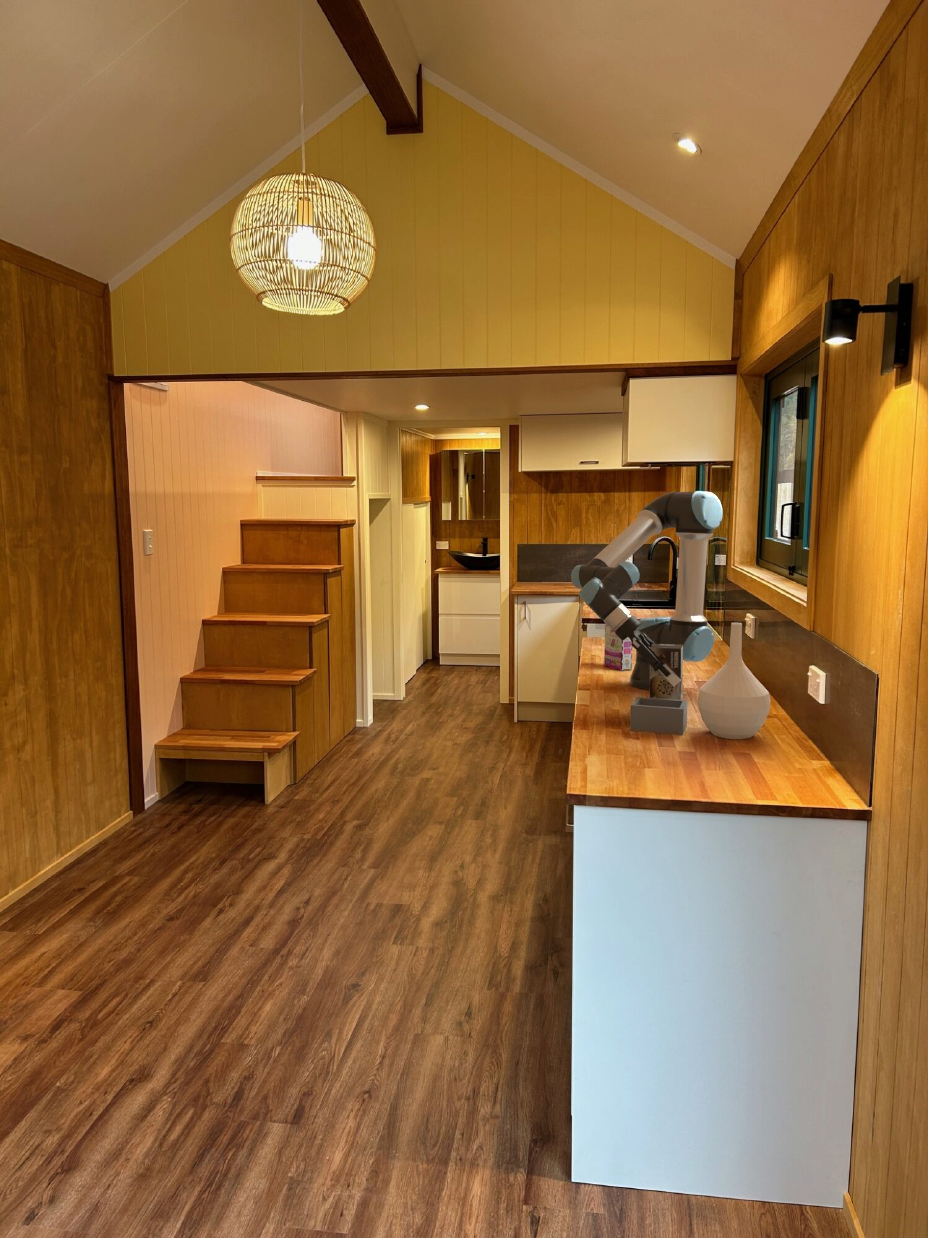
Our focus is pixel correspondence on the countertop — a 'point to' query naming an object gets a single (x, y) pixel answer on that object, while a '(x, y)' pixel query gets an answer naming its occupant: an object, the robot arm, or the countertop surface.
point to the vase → (734, 696)
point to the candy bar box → (617, 651)
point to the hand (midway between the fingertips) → (678, 680)
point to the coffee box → (674, 661)
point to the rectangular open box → (658, 715)
